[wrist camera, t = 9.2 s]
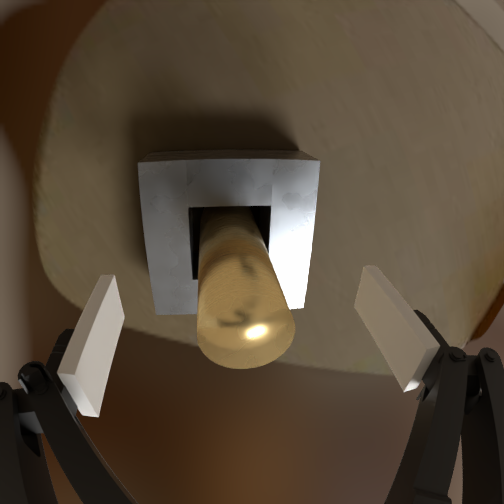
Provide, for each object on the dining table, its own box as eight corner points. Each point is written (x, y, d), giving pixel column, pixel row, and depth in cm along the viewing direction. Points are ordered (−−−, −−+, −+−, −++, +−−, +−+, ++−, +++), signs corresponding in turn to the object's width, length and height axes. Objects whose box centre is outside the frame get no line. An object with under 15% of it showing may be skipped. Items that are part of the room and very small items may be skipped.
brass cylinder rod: (199, 196, 25) (193, 298, 12) (254, 195, 25) (300, 292, 13) (201, 246, 27) (201, 370, 14) (252, 244, 27) (289, 364, 15)
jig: (150, 152, 22) (137, 162, 18) (301, 150, 24) (320, 160, 20) (162, 284, 28) (156, 314, 24) (290, 279, 29) (303, 307, 25)
